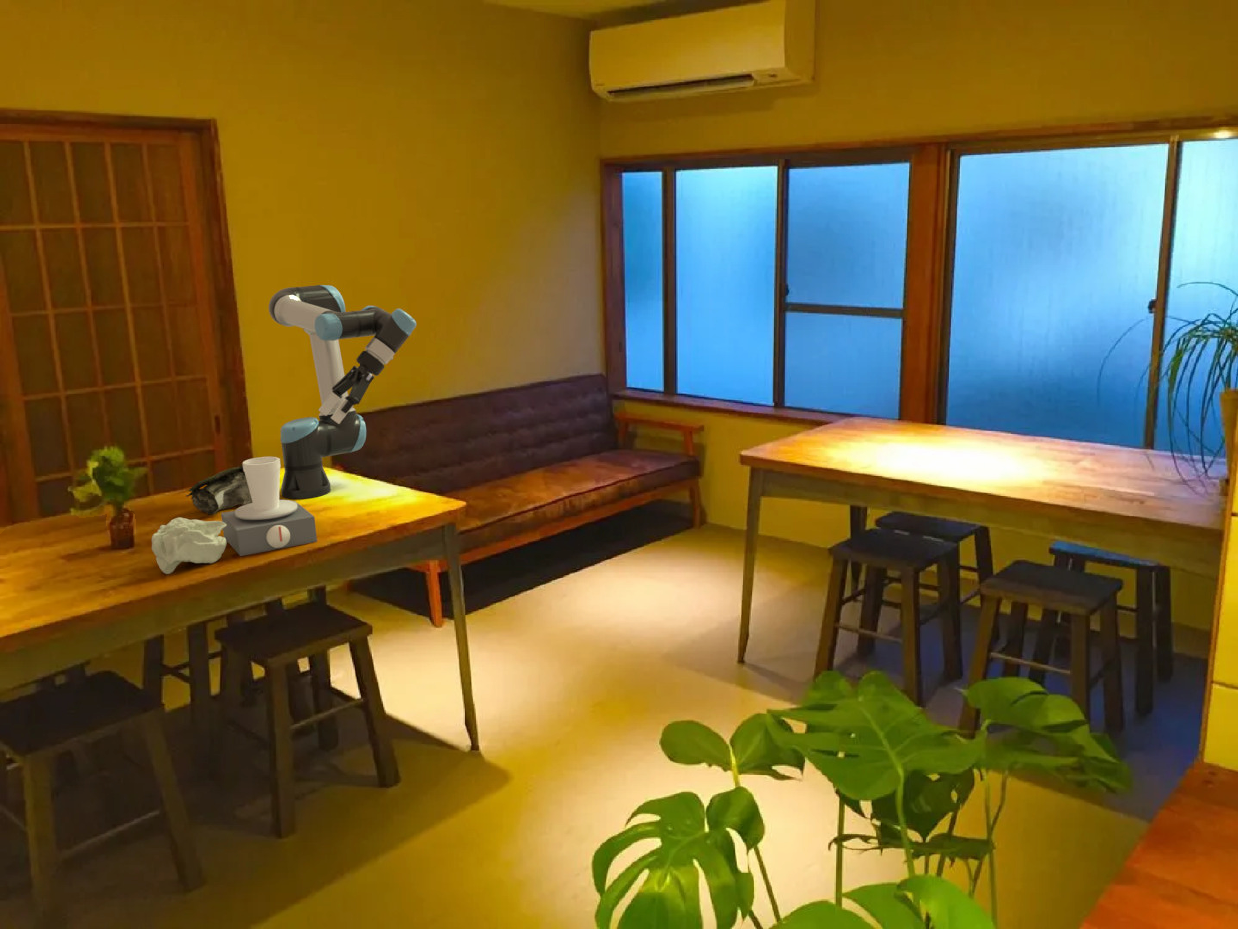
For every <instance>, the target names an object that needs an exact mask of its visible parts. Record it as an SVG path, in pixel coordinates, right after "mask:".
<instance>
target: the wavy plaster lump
mask: <svg viewBox="0 0 1238 929" xmlns="http://www.w3.org/2000/svg"><path fill="white" fill-rule="evenodd" d="M225 527H226V523H224V522H222V520H221V521H220V520H211V521H210V520H209V521H208V520H207V521H206V520H200V519H198V518H197V519H188V518H184V517H181V516H180V517H176V518H173V519H171V520H170V521H169V522H168V523H167V524H166V525H165V524H161V525H160V526H159V529H157V532H155V533H153V534H152V537H151V550H152V552H153V554H154V556H156V557H155V560H156V562H157V563H156V564H157V565H158V566H159V569H160V571H161V572H162V573H163V574H165V575H170V574H172V573H173V572H174V571H175V570H176V568H177V567H178V565H180V564H181V563H182V562H185V563H188V562H190V563H194V564H214V563H216V562H217V561H219V559H221V557H222V554H223V553H225V550H226V547H227V543H228V541H227V540H226V539H225V537H224V536H221V535H220V534H221V531H223V528H225Z"/></svg>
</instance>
